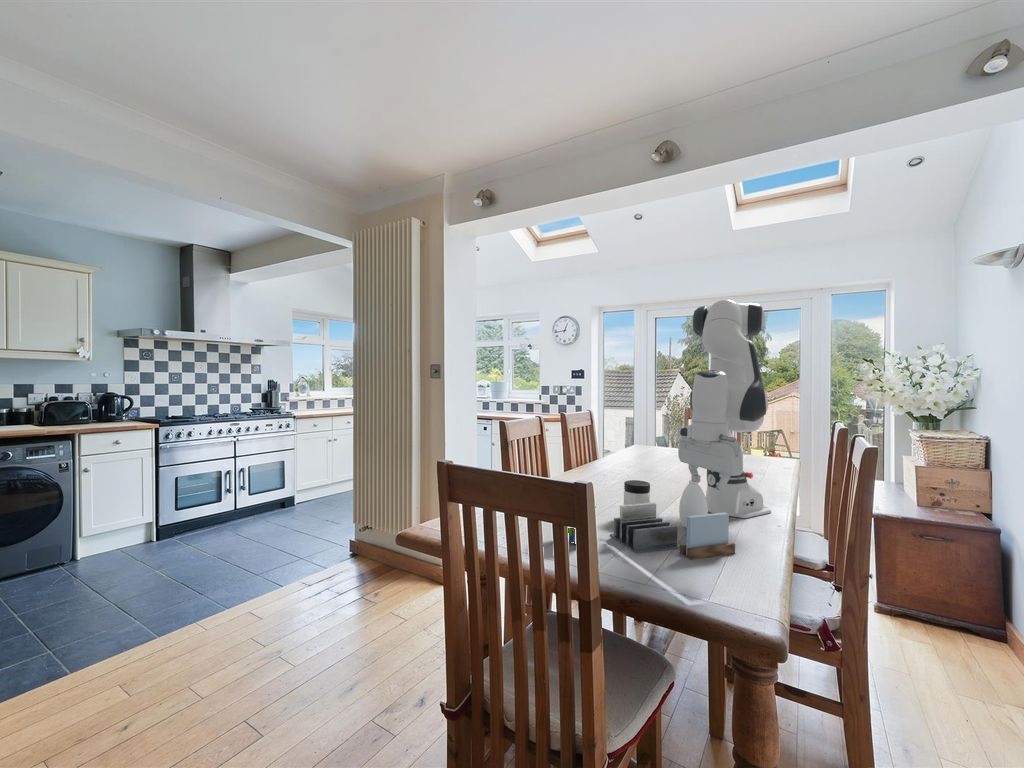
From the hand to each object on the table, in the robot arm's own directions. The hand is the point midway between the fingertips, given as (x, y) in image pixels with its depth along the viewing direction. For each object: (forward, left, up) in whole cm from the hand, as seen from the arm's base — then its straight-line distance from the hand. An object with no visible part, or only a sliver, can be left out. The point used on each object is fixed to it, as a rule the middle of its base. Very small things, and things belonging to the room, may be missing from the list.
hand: (707, 485), depth 120 cm
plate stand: (0, 0, -19) cm, 19 cm away
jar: (+1, -32, -19) cm, 37 cm away
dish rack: (+11, -12, -19) cm, 25 cm away
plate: (0, 0, -18) cm, 18 cm away
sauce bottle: (-9, -17, -19) cm, 27 cm away
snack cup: (+28, -20, -19) cm, 39 cm away
